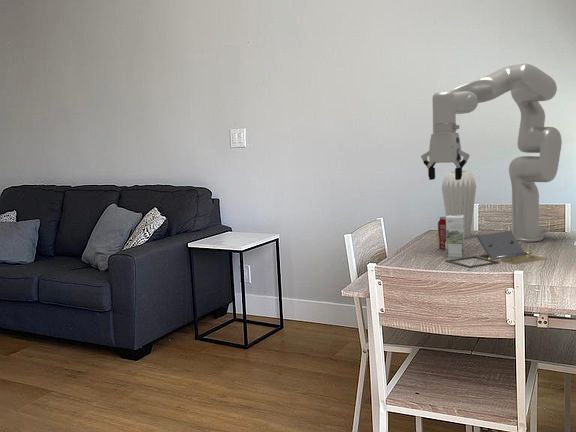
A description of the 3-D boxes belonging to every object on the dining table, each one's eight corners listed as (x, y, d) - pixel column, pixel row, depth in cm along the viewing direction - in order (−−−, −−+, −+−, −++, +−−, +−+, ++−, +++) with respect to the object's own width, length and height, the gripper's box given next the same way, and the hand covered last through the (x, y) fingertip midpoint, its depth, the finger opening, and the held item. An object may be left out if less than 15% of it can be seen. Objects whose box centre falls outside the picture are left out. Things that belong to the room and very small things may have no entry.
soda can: (458, 252, 216) (457, 218, 214) (438, 252, 217) (438, 219, 216) (457, 248, 222) (456, 216, 221) (438, 248, 224) (437, 216, 222)
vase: (458, 241, 237) (457, 173, 234) (435, 237, 249) (434, 172, 246) (484, 237, 243) (483, 171, 240) (460, 233, 255) (459, 170, 252)
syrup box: (465, 256, 208) (464, 214, 207) (464, 259, 203) (463, 216, 201) (447, 256, 210) (446, 214, 208) (446, 259, 205) (445, 216, 203)
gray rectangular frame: (474, 259, 202) (474, 256, 202) (499, 265, 191) (499, 261, 191) (445, 264, 198) (445, 260, 197) (469, 270, 187) (469, 266, 187)
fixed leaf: (528, 255, 204) (528, 251, 204) (553, 260, 194) (553, 256, 194) (485, 262, 197) (485, 257, 197) (509, 267, 188) (509, 262, 187)
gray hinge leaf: (509, 232, 209) (511, 229, 208) (525, 257, 203) (527, 254, 202) (476, 236, 203) (478, 234, 202) (492, 262, 197) (494, 259, 196)
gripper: (473, 127, 205) (473, 178, 207) (426, 130, 216) (427, 178, 218) (463, 128, 199) (464, 180, 201) (416, 130, 210) (417, 180, 212)
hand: (445, 179), depth 210 cm, fingers open, 9 cm apart
